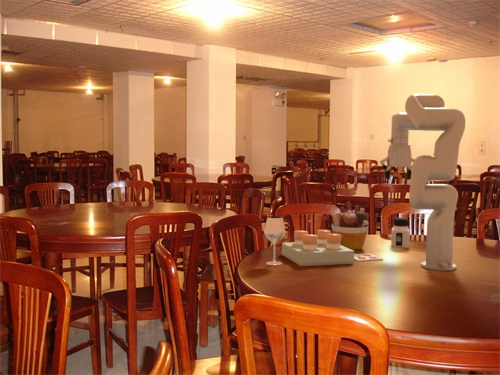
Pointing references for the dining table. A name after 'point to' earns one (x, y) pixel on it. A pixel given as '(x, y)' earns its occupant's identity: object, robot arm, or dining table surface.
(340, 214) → the bucket of meat
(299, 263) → the board
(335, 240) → the button
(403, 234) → the container
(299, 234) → the button
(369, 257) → the pattern tile
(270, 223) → the wineglass
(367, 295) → the dining table surface
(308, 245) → the button
